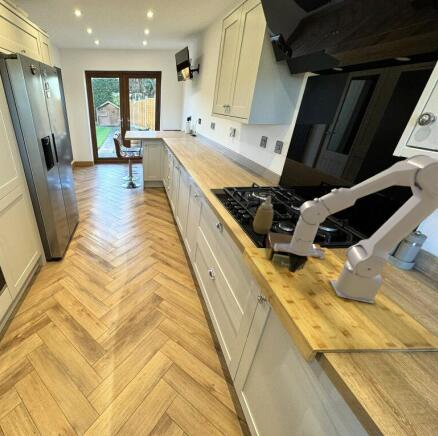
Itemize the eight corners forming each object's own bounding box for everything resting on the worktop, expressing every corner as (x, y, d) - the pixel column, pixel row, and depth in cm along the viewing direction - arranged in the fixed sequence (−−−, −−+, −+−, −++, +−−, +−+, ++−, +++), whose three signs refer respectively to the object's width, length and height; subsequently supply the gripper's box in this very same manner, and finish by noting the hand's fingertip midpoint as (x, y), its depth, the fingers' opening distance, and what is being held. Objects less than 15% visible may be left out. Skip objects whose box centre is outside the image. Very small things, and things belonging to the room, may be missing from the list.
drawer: (305, 276, 83) (309, 267, 81) (273, 270, 86) (276, 261, 84) (295, 251, 97) (298, 243, 95) (268, 246, 100) (270, 239, 98)
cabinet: (301, 266, 89) (306, 253, 87) (268, 260, 93) (272, 248, 90) (294, 247, 101) (298, 236, 99) (265, 242, 104) (268, 231, 102)
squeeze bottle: (270, 230, 115) (280, 195, 107) (268, 237, 108) (278, 201, 100) (253, 226, 118) (261, 192, 110) (249, 232, 112) (258, 197, 104)
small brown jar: (318, 252, 98) (321, 244, 97) (322, 258, 94) (325, 251, 92) (308, 250, 99) (311, 243, 98) (312, 257, 95) (315, 249, 93)
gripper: (325, 235, 78) (312, 268, 84) (276, 228, 82) (267, 260, 88) (332, 246, 72) (318, 280, 78) (280, 238, 76) (270, 271, 82)
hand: (291, 270), depth 82 cm, fingers closed, pressing on drawer
